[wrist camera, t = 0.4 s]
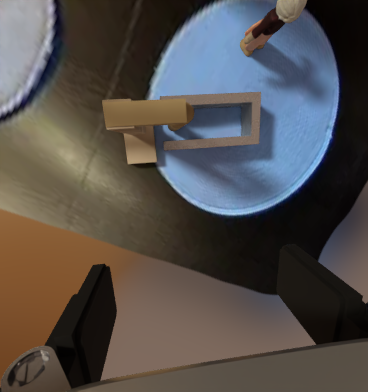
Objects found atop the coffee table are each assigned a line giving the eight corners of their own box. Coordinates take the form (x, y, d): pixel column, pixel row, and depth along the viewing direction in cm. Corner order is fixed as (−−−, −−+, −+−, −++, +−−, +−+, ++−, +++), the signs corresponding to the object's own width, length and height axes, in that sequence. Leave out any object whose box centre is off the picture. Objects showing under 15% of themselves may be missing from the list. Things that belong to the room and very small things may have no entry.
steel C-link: (248, 97, 36) (260, 91, 32) (247, 143, 39) (259, 143, 34) (159, 101, 35) (159, 96, 31) (163, 149, 37) (164, 150, 33)
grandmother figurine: (262, 17, 33) (321, -53, 21) (274, 40, 34) (336, -16, 22) (225, 49, 34) (262, -2, 22) (238, 70, 35) (280, 32, 23)
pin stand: (122, 116, 35) (84, 90, 17) (177, 113, 36) (196, 85, 18) (129, 163, 37) (100, 183, 19) (180, 159, 38) (199, 175, 20)
